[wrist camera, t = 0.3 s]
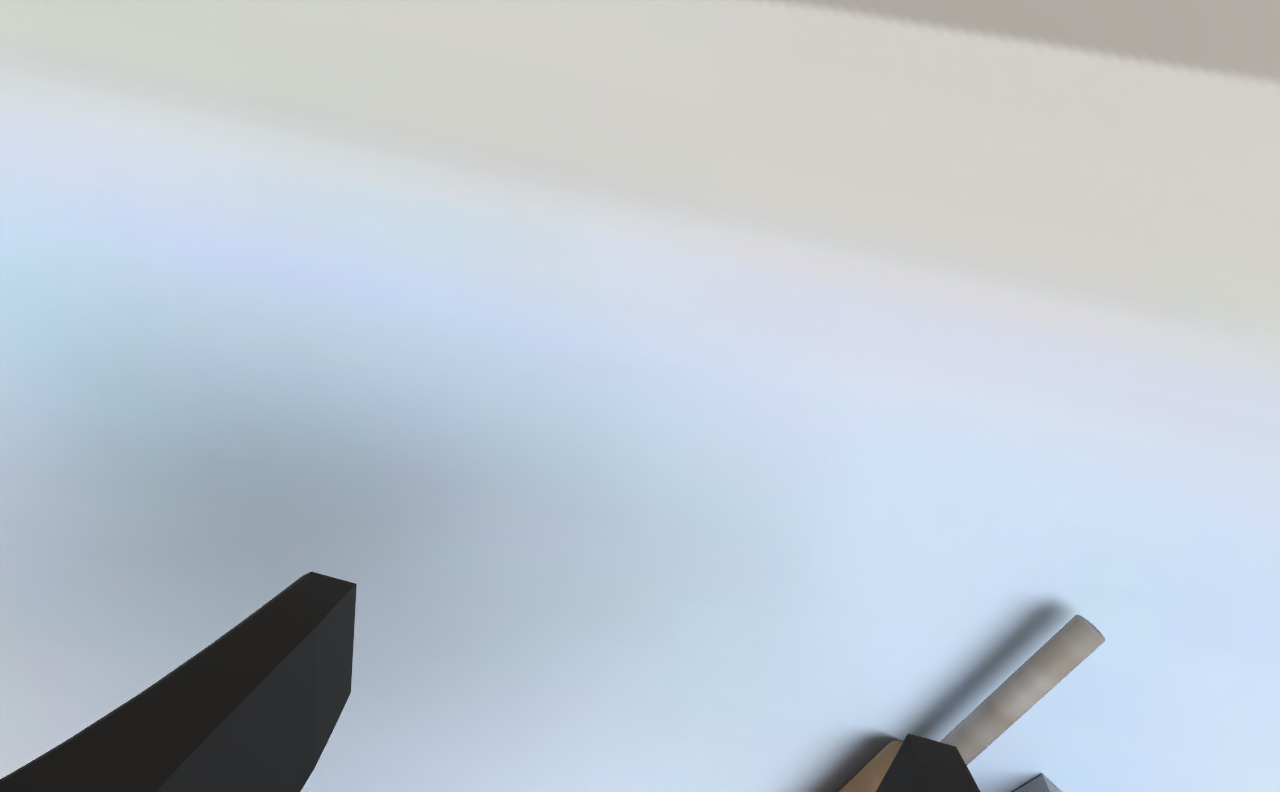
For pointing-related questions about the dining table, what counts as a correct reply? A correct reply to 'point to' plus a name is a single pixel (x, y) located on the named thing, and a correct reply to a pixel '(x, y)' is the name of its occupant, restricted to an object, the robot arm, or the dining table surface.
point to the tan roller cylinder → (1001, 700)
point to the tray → (1039, 786)
